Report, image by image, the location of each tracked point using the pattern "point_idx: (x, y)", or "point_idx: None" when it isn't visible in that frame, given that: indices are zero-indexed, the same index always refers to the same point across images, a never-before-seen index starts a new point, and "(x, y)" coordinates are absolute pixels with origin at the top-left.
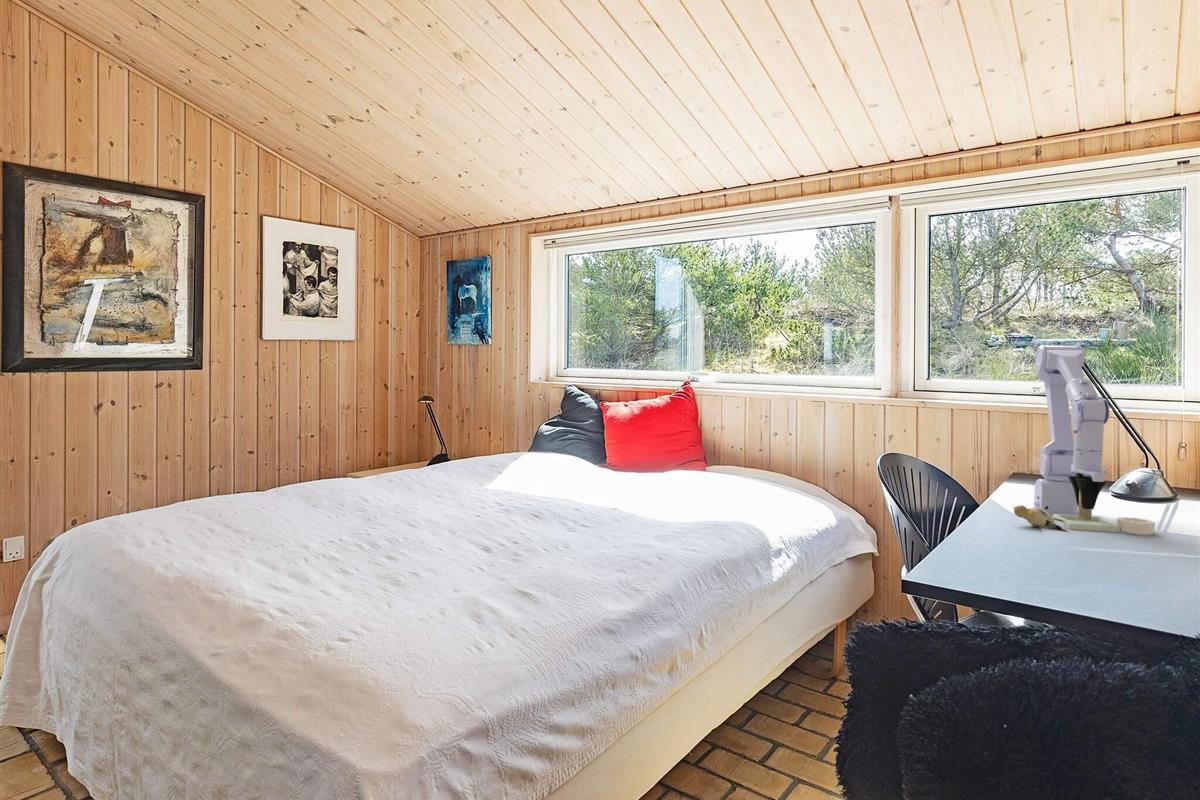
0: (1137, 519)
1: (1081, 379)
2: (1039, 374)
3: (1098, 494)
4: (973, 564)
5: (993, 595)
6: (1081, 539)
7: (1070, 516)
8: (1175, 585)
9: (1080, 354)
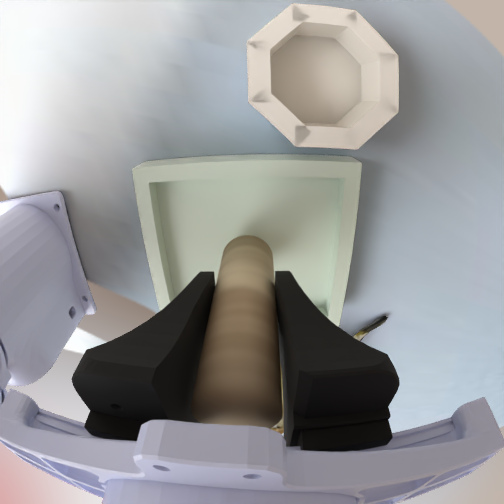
0: (275, 45)
1: None
2: None
3: (323, 314)
4: (497, 410)
5: None
6: (432, 302)
7: (166, 278)
8: None
9: None
